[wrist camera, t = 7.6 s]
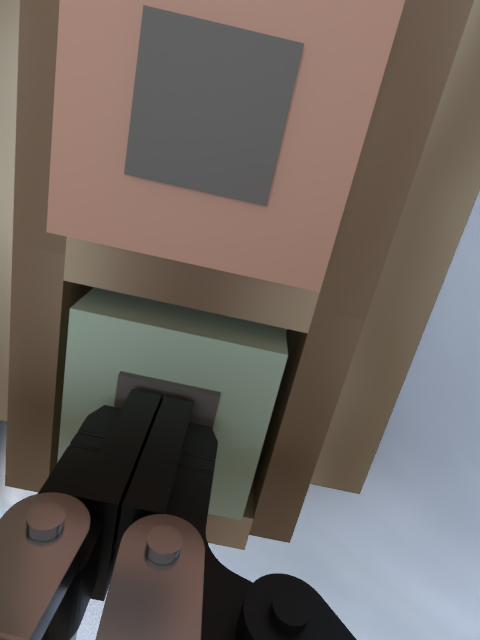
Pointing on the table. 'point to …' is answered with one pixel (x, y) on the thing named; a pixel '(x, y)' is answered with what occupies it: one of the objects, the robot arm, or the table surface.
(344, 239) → the keypad board
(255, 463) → the sage key
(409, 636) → the table surface
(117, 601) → the robot arm
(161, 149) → the terracotta key
